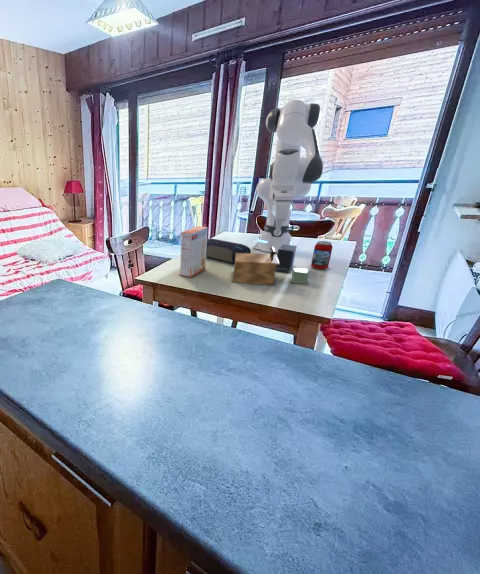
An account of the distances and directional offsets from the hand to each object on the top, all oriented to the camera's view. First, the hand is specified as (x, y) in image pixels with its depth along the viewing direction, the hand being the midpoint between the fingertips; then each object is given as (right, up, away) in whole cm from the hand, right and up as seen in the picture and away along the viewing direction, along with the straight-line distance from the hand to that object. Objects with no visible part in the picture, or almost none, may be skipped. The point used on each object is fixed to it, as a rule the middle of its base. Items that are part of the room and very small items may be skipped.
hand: (276, 228), depth 134 cm
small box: (+14, -16, +19) cm, 29 cm away
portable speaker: (-8, -10, +36) cm, 39 cm away
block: (+12, -22, +4) cm, 25 cm away
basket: (-5, -21, +10) cm, 24 cm away
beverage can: (+30, -15, +18) cm, 38 cm away
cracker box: (-28, -18, +22) cm, 40 cm away
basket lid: (-5, -13, +7) cm, 15 cm away
